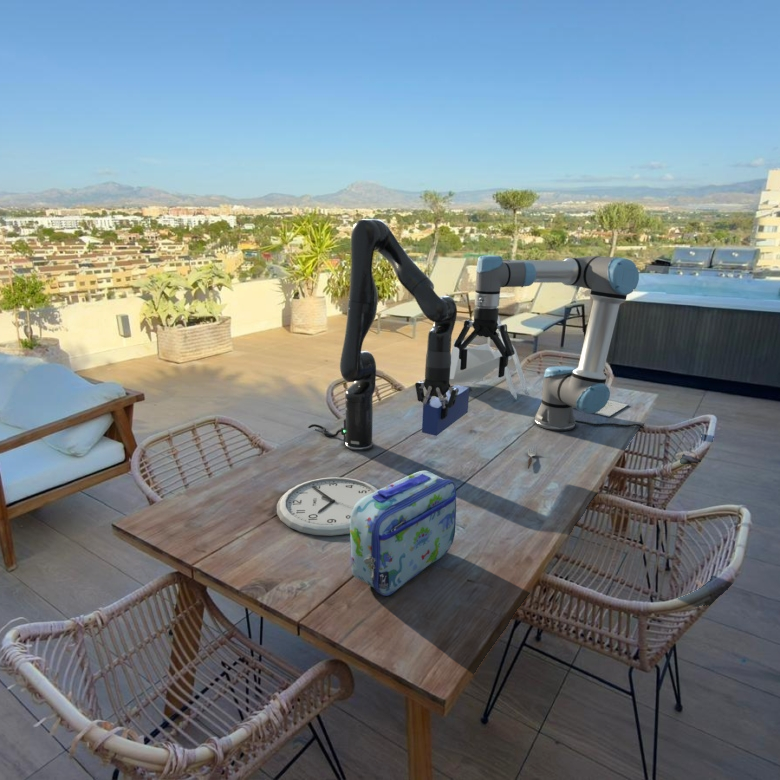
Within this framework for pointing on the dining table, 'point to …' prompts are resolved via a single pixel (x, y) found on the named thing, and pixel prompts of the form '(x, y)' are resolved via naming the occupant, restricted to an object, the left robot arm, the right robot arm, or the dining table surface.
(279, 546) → the dining table surface
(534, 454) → the fork
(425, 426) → the bar
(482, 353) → the white plastic object
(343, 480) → the wall clock
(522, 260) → the right robot arm
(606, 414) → the invitation card
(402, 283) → the left robot arm
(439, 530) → the lunch box
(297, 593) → the dining table surface
